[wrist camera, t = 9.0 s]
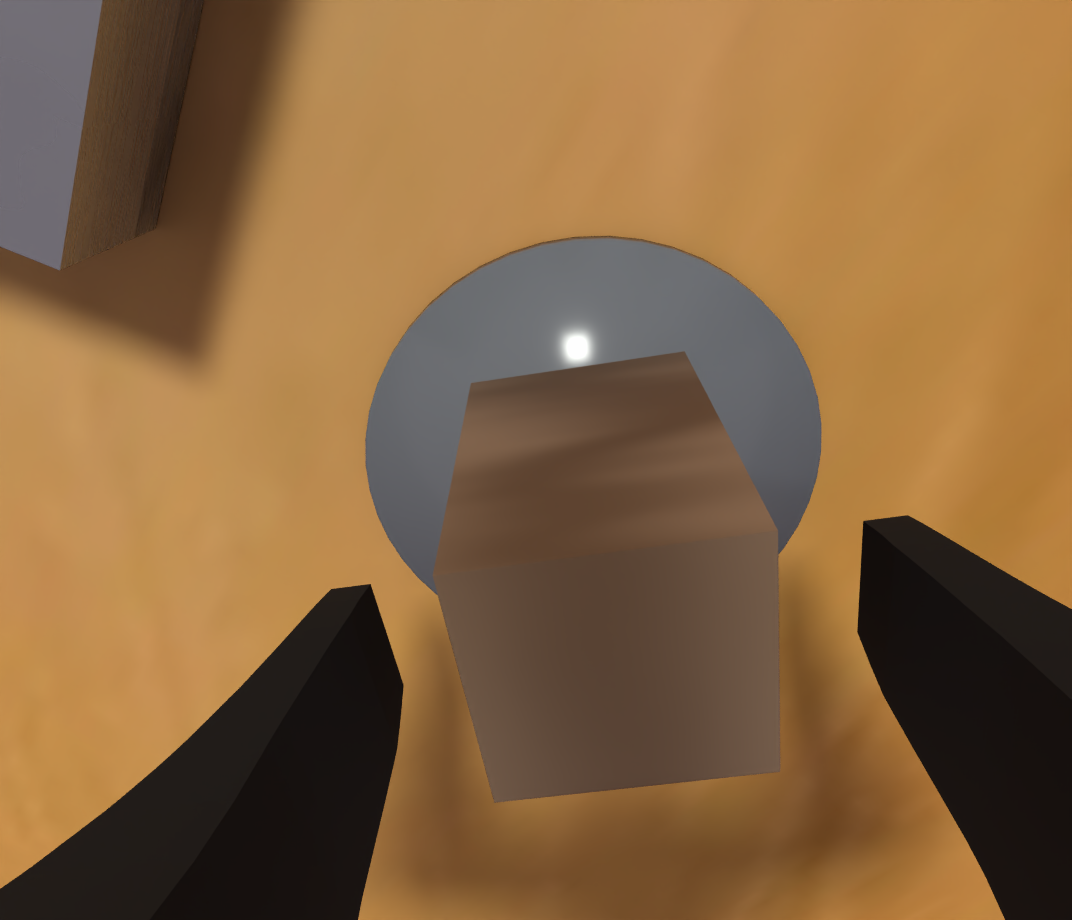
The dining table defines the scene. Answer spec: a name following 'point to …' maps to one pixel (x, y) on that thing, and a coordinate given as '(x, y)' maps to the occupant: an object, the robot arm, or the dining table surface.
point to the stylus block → (609, 583)
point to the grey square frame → (88, 120)
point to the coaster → (581, 340)
